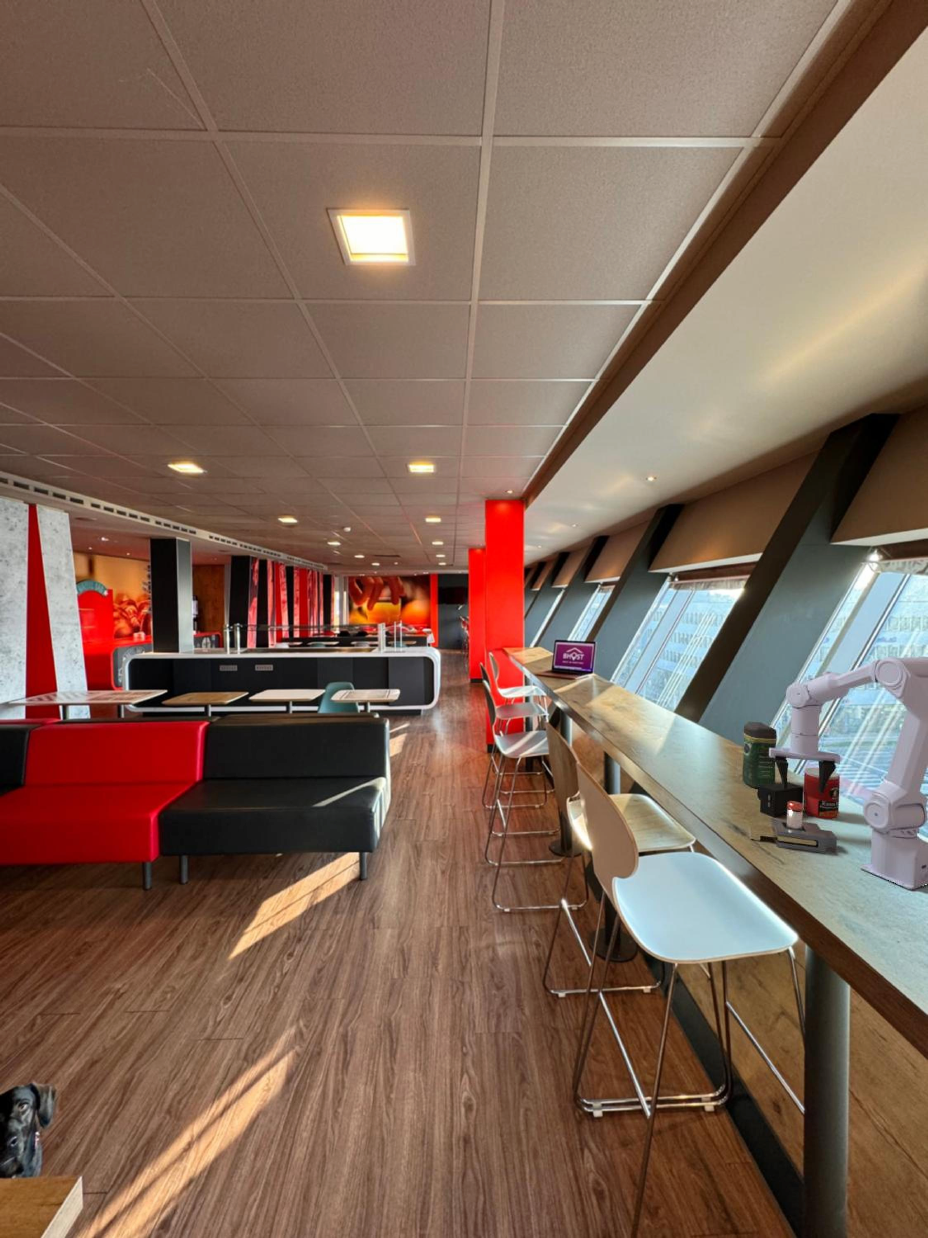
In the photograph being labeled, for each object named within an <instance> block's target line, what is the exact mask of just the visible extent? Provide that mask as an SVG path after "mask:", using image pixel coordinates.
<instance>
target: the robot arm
mask: <svg viewBox="0 0 928 1238" xmlns="http://www.w3.org/2000/svg"><path fill="white" fill-rule="evenodd" d="M821 674H822V675H821V676H818V677H816V678H813V677H812V678H811V677H810V678H807V679H806V681H805V682H803V683H801V682H792V684H790V685H788V687H787V688H786V691H785V696H786V697H785V698H786V701H787V702H788V704H789V705H790V706H791V708H790V709H791V710H790V712H791V714H790V744H789V745H790V746H789V747H788V748H787V747H776V748H769V756H770V757H771V758H774V760H775V766H776V767H777V770H778V773H779V776H780V780H781V783H782V787H783V788H784V789H787V782H788V770H789V762H788V759H792V760H803V761H814V762H818V768H819V783H818V790H819V791H820V793H824V791H825V787H826V784H827V782H828V780H829V778H830V776H831V775H832V773H833V772H836V769H837V765H840V764H841V754H839V753H835V752H834V753H833V752H829V751H828V752H826V751H821V750H820V751H819V737H820V735H819V734H820V732H819V731H820V716H821V713H822V710H823V706H824V705H825V704H826V703H828V702H831V701H834V700H838V699H841V698H844V697H846V696H848V694H849V692H850V689H854V688H857V687H860V686H865V685H868V684H872V683H878V684H880V685H881V686H882V688H884V689H885V690H886V691H887V692H888V693H890V694H891V695H892V696H893V697H894V698H895V699H896V700H897V701H898V702H899V703H901V704H902V705H903V706H904V708H905V709H906V711H905V715H904V718H903V721H902V724H901V728H900V731H899V734H898V737H897V741H896V745H895V748H894V751H893V754H892V758H891V760H890V765H889V768H888V771H887V773H886V777H885V780H884V781H883V782H882V783H881V784H879V785H878V786H877V787H876V788H874V789H873V790H872V793H871V795H870V797H869V798H868V799H867V800H866V801H865V802H864V804H863V806H862V813H863V816H864V819H865V821H866V823H867V824H868V825H869V828H870V829H871V843H870V844H871V845H870V848H871V850H870V863H867V864H863V865H860V869H861V870H863V871H866V872H868V873H870V874H872V875H875V876H877V877H879V878H881V877H882V878H881V879H884V880H887V881H888V880H889V882H891V883H893V882H894V883H893V884H895V883H896V885H898V886H900V885H901V886H900V887H902V886H903V888H905V889H907V890H914V889H915V890H916V889H918V887H919V888H921V887H920V886H922V887H924V886H923V885H925V884H928V842H927V841H925V840H924V839H922V838H921V837H919V835H918V834H919V833H920V828H922V827H924V826H925V825H926V823H927V821H928V811H927V804H928V798H927V796H926V795H925V794H924V793H923V792H922V791H921V788H922V786H923V782H924V779H925V776H926V774H927V770H928V656H918V657H917V656H915V657H913V656H911V657H895V656H887V657H883V658H882V659H876V660H872V661H871V662H869V663H866V664H864V665H862V666H859V667H857V668H855V669H852V670H850V671H847V672H845V673H843V674H841V673H838V672H835V671H824V672H822V673H821ZM836 764H837V765H836Z"/></svg>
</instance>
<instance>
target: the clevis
mask: <svg viewBox="0 0 928 1238" xmlns="http://www.w3.org/2000/svg"><path fill="white" fill-rule="evenodd" d="M769 822H770V824H771V826H769V825H768V826H767V825H761V824H754V823H752V824H751V823H748V825H747V826H748V827H747V830H748V831H747V834H749V835H748V837H749V839H750V840H751V839H754V840H753V841H760V842H761V836H763V837H771V838H772V839H773V842H774V844H775V846H776V848H784V849H791V850H798V851H805V852H814V853H820V854H827V851H830V852H837V848H838V847H837V845H838V844H837V843H838V841H837V840H838V838H837V836H836V835H835V833H834V832H833V831H832V830H825V829H821V828H820V826H819V824H818V823H817V822H816V823H815V822H808V821H807V822H806V821H802V831H798V830H790V829H786V826H787V819H781V818H773V817H770V821H769Z"/></svg>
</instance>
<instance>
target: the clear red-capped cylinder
mask: <svg viewBox="0 0 928 1238" xmlns="http://www.w3.org/2000/svg"><path fill="white" fill-rule="evenodd" d="M803 811H804V808H803V804H802V803H799V802H795V801H788V806H787V816H786V820H787V826H786V829H790V830H798V831H802V822H803V815H804V813H803Z"/></svg>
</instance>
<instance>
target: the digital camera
mask: <svg viewBox="0 0 928 1238" xmlns="http://www.w3.org/2000/svg"><path fill="white" fill-rule="evenodd" d="M756 793H757V794H756V795H757V799H758V800H760V803H759V811H760V813H761V814H764V815H766V816H768V817H770V818H775V819H777V818H781V817H787V806H788V801H795V802H799V803H802V804H803V801H804V786H801V785H800V784H796V783H792V782H791V781H790V782H789V781H787V789H784V788H783V787H782V782H781V783H780V782H779V783H775V784H772V785H766V784H762V785H761V786H760V787H759V788H757V792H756Z"/></svg>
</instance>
